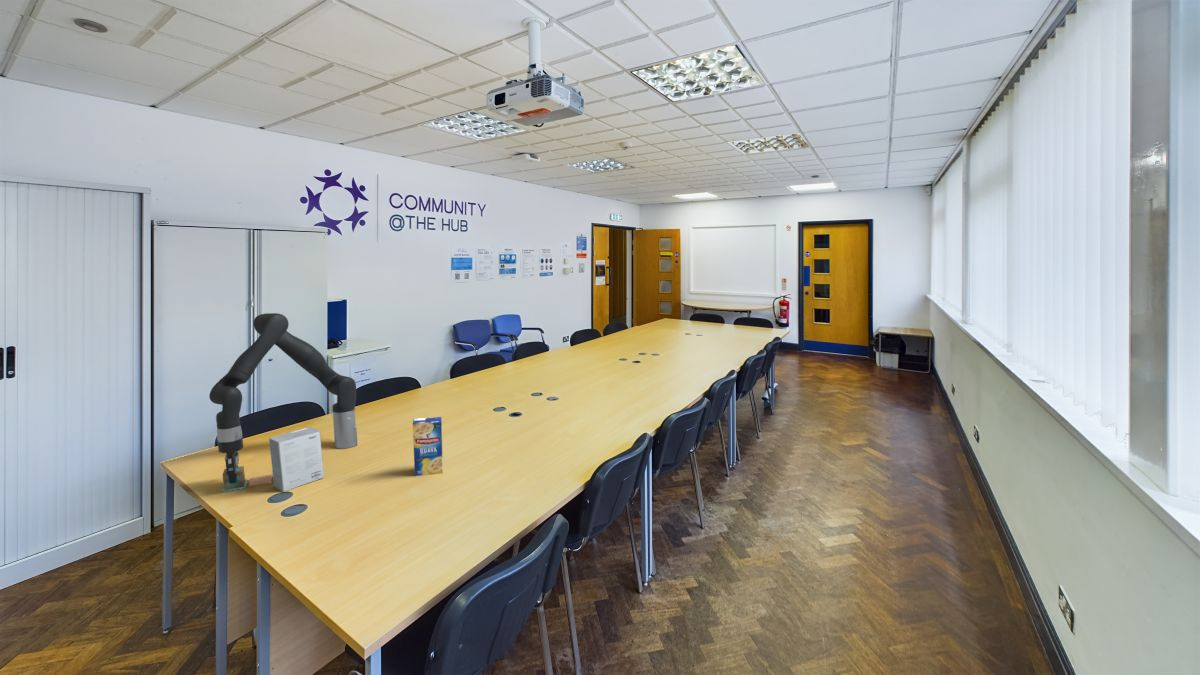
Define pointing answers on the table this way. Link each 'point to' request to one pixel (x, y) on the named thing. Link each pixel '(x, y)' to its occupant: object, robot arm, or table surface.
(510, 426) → the table surface
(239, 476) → the cube
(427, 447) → the blue food box
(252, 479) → the pad terracotta
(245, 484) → the pad teal
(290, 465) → the hard drive box
